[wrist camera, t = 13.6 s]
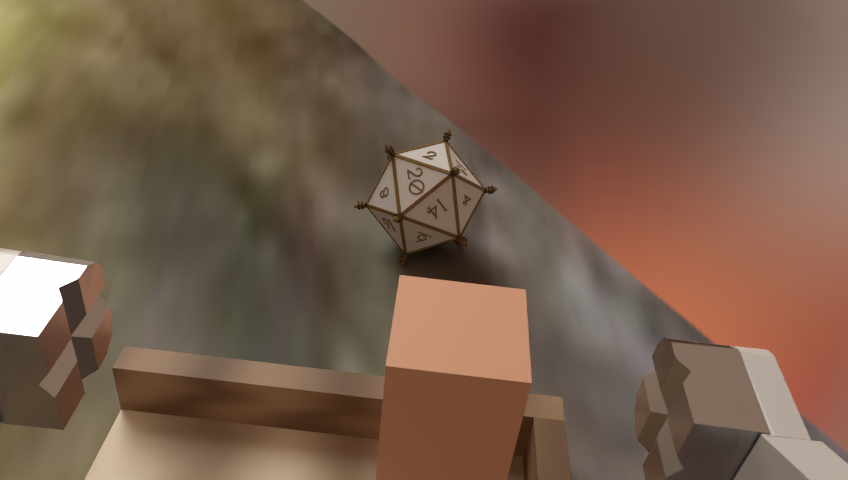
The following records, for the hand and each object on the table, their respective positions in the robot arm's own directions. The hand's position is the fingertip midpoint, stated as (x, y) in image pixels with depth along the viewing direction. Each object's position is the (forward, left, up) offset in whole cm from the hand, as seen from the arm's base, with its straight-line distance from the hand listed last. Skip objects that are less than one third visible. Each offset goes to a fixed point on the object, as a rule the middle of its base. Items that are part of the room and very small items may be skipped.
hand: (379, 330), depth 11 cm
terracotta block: (+2, +12, -23) cm, 26 cm away
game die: (0, +35, -24) cm, 42 cm away
